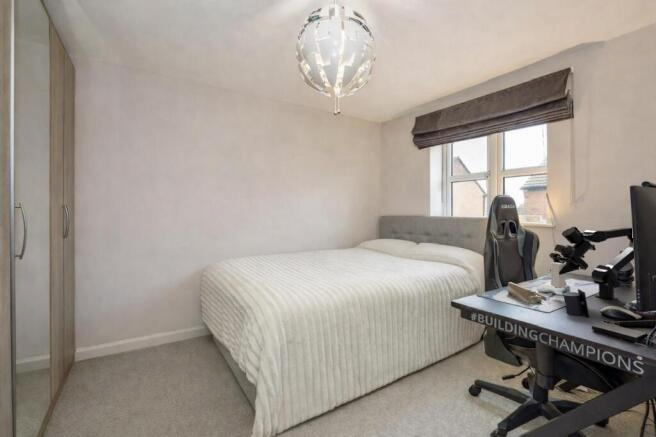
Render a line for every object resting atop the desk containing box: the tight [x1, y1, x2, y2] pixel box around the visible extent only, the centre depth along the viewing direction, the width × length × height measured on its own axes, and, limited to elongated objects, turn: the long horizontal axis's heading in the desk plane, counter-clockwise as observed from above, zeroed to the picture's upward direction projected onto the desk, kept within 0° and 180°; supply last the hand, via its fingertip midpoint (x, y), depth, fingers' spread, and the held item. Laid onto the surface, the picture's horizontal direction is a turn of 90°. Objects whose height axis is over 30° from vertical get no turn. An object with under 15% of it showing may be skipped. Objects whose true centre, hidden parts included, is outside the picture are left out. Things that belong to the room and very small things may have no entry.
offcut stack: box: [523, 286, 537, 296], centre depth 148 cm, size 4×10×4 cm, turn 177°
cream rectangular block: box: [550, 261, 566, 289], centre depth 147 cm, size 3×6×12 cm, turn 178°
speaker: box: [562, 288, 590, 319], centre depth 124 cm, size 8×6×10 cm
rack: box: [507, 281, 547, 304], centre depth 147 cm, size 12×16×6 cm
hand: (555, 272), depth 147 cm, fingers closed on cream rectangular block, 5 cm apart
